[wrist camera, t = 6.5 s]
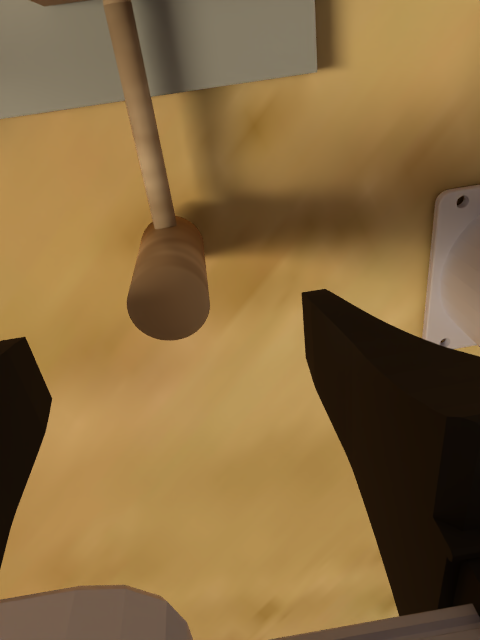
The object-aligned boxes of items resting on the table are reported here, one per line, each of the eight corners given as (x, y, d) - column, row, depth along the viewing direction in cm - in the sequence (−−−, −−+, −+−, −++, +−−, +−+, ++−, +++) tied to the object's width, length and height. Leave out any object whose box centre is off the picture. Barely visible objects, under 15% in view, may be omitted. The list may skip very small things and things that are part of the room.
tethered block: (157, -265, 11) (140, -476, 7) (233, 265, 18) (249, 328, 14) (-27, -242, 11) (-165, -444, 7) (123, 282, 18) (103, 351, 14)
